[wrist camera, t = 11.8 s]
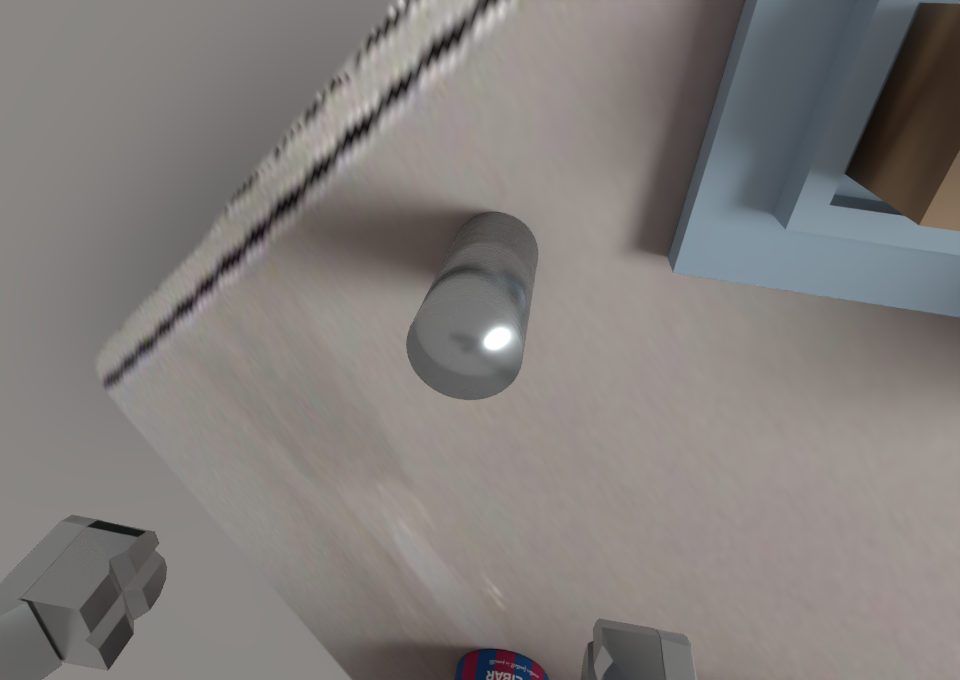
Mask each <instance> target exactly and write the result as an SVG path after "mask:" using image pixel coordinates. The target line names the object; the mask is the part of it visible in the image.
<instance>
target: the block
mask: <svg viewBox="0 0 960 680" xmlns="http://www.w3.org/2000/svg"><path fill="white" fill-rule="evenodd" d="M845 175H847V176H848V177H850V178H851V179H853V180H854V181H855V182H857V183H858V184H860V185H861V186H863V187H864V188H866V189H867V190H868V191H870V192H871V193H873V194H874V195H876V196H877V197H879V198H880V199H881V200H883V201H884V202H886V203H887V204H889V205H890V206H892V207H893V208H894V209H896V210H897V211H899V212H900V213H902V214H903V215H905V216H906V217H907V218H909V219H910V220H912V221H913V222H915V223H916V224H917V225H919V226H926V227H932V228H939V229H946V230H953V231H960V4H951V3H921V5H920V7H919V10H918V12H917V14H916V16H915V19H914V21H913V23H912V25H911V28H910V30H909V32H908V34H907V37H906V39H905V41H904V43H903V46H902V48H901V50H900V52H899V55H898V57H897V59H896V61H895V64H894V66H893V68H892V70H891V73H890V75H889V77H888V79H887V82H886V84H885V86H884V88H883V90H882V93H881V95H880V97H879V99H878V102H877V104H876V106H875V108H874V111H873V113H872V115H871V117H870V120H869V122H868V124H867V126H866V129H865V131H864V133H863V135H862V138H861V140H860V142H859V144H858V147H857V149H856V151H855V153H854V156H853V158H852V160H851V162H850V165H849V167H848V169H847V171H846V174H845Z"/></svg>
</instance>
